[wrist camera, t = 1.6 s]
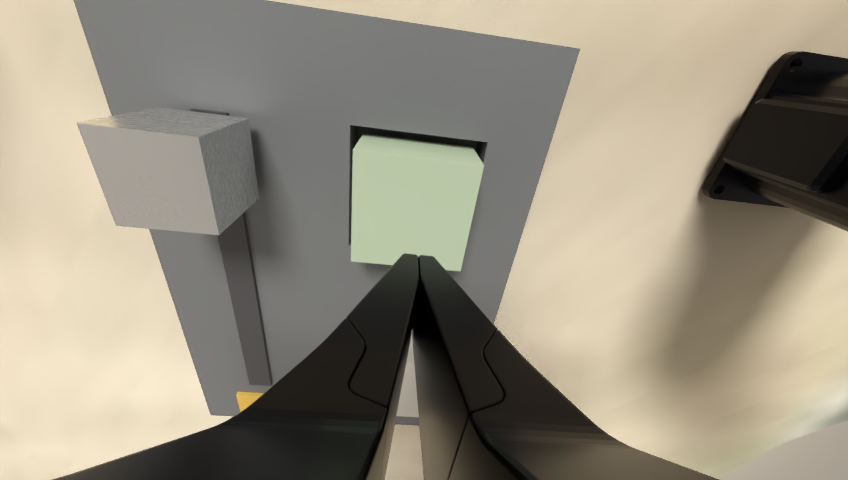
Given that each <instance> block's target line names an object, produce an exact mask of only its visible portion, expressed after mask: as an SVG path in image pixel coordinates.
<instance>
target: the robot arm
mask: <svg viewBox="0 0 848 480" xmlns="http://www.w3.org/2000/svg"><path fill="white" fill-rule="evenodd" d="M791 62H792V65H791V67H790V68H789V65H790V63H791ZM788 68H789V69H788ZM717 186H718V187H717ZM716 187H717V189H716V190H714V189H715V188H716ZM703 193H704V195H706V196H708V197H710V198H713V199H720V200H729V201H737V202H746V203H754V204H763V205H771V206H780V207H788V208H792V209H794V210H796V211H799V212H801V213H804V214H806V215H809V216H811V217H814V218H816V219H819V220H821V221H823V222H826V223H828V224H831V225H833V226H836V227H838V228H841V229H843V230H846V231H848V59H846V58H840V57H834V56H828V55H822V54H816V53H810V52H788V53H786V54H784V55H783V56H781V57H780V58H779V59H778V60H777V62H776V63H775V65H774V66H773V68H772V70H771V71H770V73H769V75H768V77H767V78H766V80H765V82H764V83H763V85H762V87H761V89H760V90H759V92H758V94H757V95H756V97H755V99H754V101H753V102H752V104H751V106H750V107H749V109H748V111H747V113H746V114H745V116H744V118H743V119H742V121H741V123H740V125H739V126H738V128H737V130H736V131H735V133H734V135H733V137H732V138H731V140H730V142H729V143H728V145H727V147H726V149H725V150H724V152H723V154H722V156H721V157H720V159H719V161H718V162H717V164H716V166H715V168H714V169H713V171H712V173H711V174H710V176H709V178H708V180H707V181H706V183H705V185H704V187H703ZM497 330H498V329H497V328H496V326H495V325H494V324H493V323H492V322H491V321H490V320H489V318H488V317H487V316H486V315H485V314H484V313H483V312H482V311H481V309H480V308H479V307H478V306H477V305H476V304H475V303H474V301H473V300H472V299H471V298H470V297H469V296H468V295H467V294H466V292H465V291H464V290H463V289H462V288H461V287H460V286H459V284H458V283H457V282H456V281H455V280H454V279H453V278H452V277H451V275H450V274H449V273H448V272H447V271H446V270H445V269H444V268H443V266H442V265H441V264H440V263H439V262H438V261H437V260H436V258H435V257H433V256H427V255H420V256H419V257H418V255H416V254H406V253H404V254H402V255H401V257H400V258H399V259H398V260H397V261H396V262H395V263H394V264H393V265H392V267H391V268H390V269H389V270H388V271H387V272H386V273H385V274H384V276H383V277H382V278H381V279H380V280H379V281H378V282H377V283H376V284H375V286H374V287H373V288H372V289H371V290H370V291H369V292H368V293H367V294H366V296H365V297H364V298H363V299H362V300H361V301H360V302H359V303H358V304H357V306H356V307H355V308H354V309H353V310H352V311H351V312H350V313H349V315H348V316H347V317H346V319H344V320H343V321H342V322H341V323H340V324H339V325H338V327H337V328H336V329H335V330H334V331H333V332H332V333H331V334H330V335H329V336H328V337H327V338H326V339H325V340H324V341H323V342H322V343H321V344H320V345H319V346H318V347H317V348H316V349H315V350H313V351H312V352H311V353H310V354H309V355H308V356H307V357H306V358H305V359H303V360H302V361H301V362H300V363H299V364H298V365H296V366H295V367H294V368H293V369H292V370H291V371H290V372H288V373H287V374H286V375H285V376H284V377H283V378H281V379H280V380H279V381H278V382H277V383H276V384H274V385H273V386H272V387H271V388H270V389H269V390H267V391H266V392H265V393H264V394H263V395H262V396H260V397H259V398H258V399H257V400H256V401H255V402H253V403H252V404H251V405H250V406H248V407H247V408H246V409H244V410H243V411H241V412H240V413H239V414H237V415H236V416H234V417H232V418H231V419H229V420H227V421H225V422H223V423H221V424H219V425H217V426H214V427H212V428H209V429H206V430H203V431H200V432H197V433H194V434H191V435H188V436H185V437H182V438H179V439H176V440H173V441H170V442H167V443H164V444H161V445H158V446H155V447H152V448H149V449H146V450H142V451H139V452H136V453H133V454H130V455H127V456H124V457H121V458H118V459H115V460H112V461H109V462H106V463H103V464H100V465H97V466H94V467H91V468H88V469H85V470H82V471H79V472H76V473H73V474H70V475H66V476H63V477H60V478H56V479H53V480H384V479H385V474H386V469H387V463H388V458H389V453H390V447H391V442H392V437H393V431H394V426H395V421H396V415H397V410H398V405H399V399H400V394H401V389H402V383H403V378H404V373H405V367H406V362H407V357H408V351H409V346H410V340H411V334H412V341H413V353H414V365H415V377H416V389H417V401H418V413H419V425H420V437H421V449H422V461H423V473H424V480H719V479H716V478H713V477H710V476H708V475H705V474H702V473H700V472H697V471H694V470H691V469H689V468H686V467H683V466H681V465H678V464H675V463H672V462H670V461H667V460H664V459H662V458H659V457H656V456H653V455H651V454H648V453H645V452H643V451H640V450H637V449H635V448H632V447H630V446H628V445H626V444H624V443H622V442H620V441H618V440H616V439H615V438H613V437H612V436H610V435H608V434H607V433H606V432H604V431H603V430H602V429H600V428H599V427H598V426H597V425H596V424H594V423H593V422H592V421H591V420H590V419H589V418H588V417H587V416H585V415H584V414H583V413H582V412H581V411H580V410H579V409H578V408H577V407H576V406H575V405H574V404H573V403H572V402H570V401H569V400H568V399H567V398H566V397H565V396H564V395H563V394H562V393H561V392H560V391H559V390H558V389H557V388H555V387H554V386H553V385H552V384H551V383H550V382H549V381H548V380H547V379H546V378H545V377H544V376H543V375H542V374H540V373H539V372H538V371H537V370H536V369H535V368H534V367H533V366H532V365H531V364H530V363H529V362H528V361H527V360H526V359H525V358H524V357H523V356H522V355H521V354H520V353H519V352H518V351H517V350H516V348H515V347H514V346H513V345H512V344H511V343H510V342H509V341H508V340H507V339H506V338H505V336H504V335H503V334H502V333H501V332H500V331H497Z"/></svg>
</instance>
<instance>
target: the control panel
mask: <svg viewBox="0 0 848 480" xmlns="http://www.w3.org/2000/svg"><path fill="white" fill-rule="evenodd" d="M74 3H75V6H76V9H77V12H78V15H79V18H80V21H81V24H82V27H83V30H84V33H85V36H86V39H87V42H88V45H89V48H90V51H91V54H92V57H93V60H94V63H95V66H96V69H97V72H98V75H99V78H100V81H101V84H102V87H103V91H104V94H105V97H106V100H107V103H108V106H109V109H110V112H111V115H112V116H114V115H119V114H124V113H129V112H134V111H139V110H144V109H149V108H154V107H162V108H170V109H178V110H186V111H194V112H202V113H210V114H218V115H226V116H234V117H242V118H249V125H250V133H251V140H252V148H253V155H254V163H255V170H256V178H257V185H258V193H259V199H258V200H257V201H256V202H255V203H254V204H253V205H251V206H250V207H249V208H248V209H247V210H246V211H245V212H244V213H243V214H242V215H241V216H240V217H238V218H237V219H236V220H235V221H234V222H233V223H232V224H231V225H230V226H229V227H228V228H226V229H225V230H224V231H223V232H222V233H221V234H220V235H211V234H200V233H190V232H179V231H169V230H158V229H149V230H150V233H151V236H152V239H153V242H154V245H155V248H156V251H157V254H158V257H159V260H160V263H161V266H162V269H163V272H164V275H165V278H166V281H167V284H168V287H169V290H170V293H171V296H172V299H173V302H174V305H175V308H176V311H177V314H178V317H179V320H180V323H181V326H182V330H183V333H184V336H185V339H186V342H187V345H188V348H189V351H190V354H191V357H192V360H193V363H194V366H195V369H196V372H197V375H198V378H199V381H200V384H201V387H202V390H203V393H204V396H205V399H206V402H207V405H208V408H209V411H210V414H211V415H219V416H236V415H237V414H239V413H240V412H241V411H243V410H244V409H246V408H247V407H248V406H250V405H251V404H252V403H253V402H255V401H256V400H257V399H258V398H259V397H260V396H262V395H263V394H264V393H265V392H266V391H267V390H269V389H270V388H271V387H272V386H273V385H274V384H276V383H277V382H278V381H279V380H280V379H281V378H283V377H284V376H285V375H286V374H287V373H288V372H290V371H291V370H292V369H293V368H294V367H295V366H296V365H298V364H299V363H300V362H301V361H302V360H303V359H305V358H306V357H307V356H308V355H309V354H310V353H311V352H312V351H313V350H315V349H316V348H317V347H318V346H319V345H320V344H321V343H322V342H323V341H324V340H325V339H326V338H327V337H328V336H329V335H330V334H331V333H332V332H333V331H334V330H335V329H336V328H337V327H338V325H339V324H340V323H341V322H342V321H343V320H344V319H346V317H347V316H348V315H349V313H350V312H351V311H352V310H353V309H354V308H355V307H356V306H357V304H358V303H359V302H360V301H361V300H362V299H363V298H364V297H365V296H366V294H367V293H368V292H369V291H370V290H371V289H372V288H373V287H374V286H375V284H376V283H377V282H378V281H379V280H380V279H381V278H382V277H383V276H384V274H385V273H386V272H387V271H388V270H389V269H390V268H391V267H392V265H385V264H373V263H362V262H351V220H352V165H353V149H354V147H355V145H356V144H357V142H358V141H359V139H360V138H361V136H362V135H363V134H371V135H379V136H387V137H395V138H403V139H411V140H419V141H428V142H436V143H444V144H452V145H460V146H468V147H473V148H474V150H475V152H476V153H477V155H478V156H479V158H480V159H481V161H482V163H483V164H484V169H483V173H482V178H481V182H480V187H479V191H478V196H477V200H476V205H475V209H474V213H473V218H472V222H471V227H470V231H469V236H468V240H467V245H466V249H465V254H464V258H463V263H462V267H461V271H451V270H446V271H447V272H448V273H449V274H450V275H451V277H452V278H453V279H454V280H455V281H456V282H457V283H458V284H459V286H460V287H461V288H462V289H463V290H464V291H465V292H466V294H467V295H468V296H469V297H470V298H471V299H472V300H473V301H474V303H475V304H476V305H477V306H478V307H479V308H480V309H481V311H482V312H483V313H484V314H485V315H486V316H487V317H488V318H489V320H490V321H491V322H492V323H493V324H494V321H495V318H496V314H497V311H498V308H499V305H500V302H501V299H502V295H503V292H504V289H505V286H506V283H507V279H508V276H509V273H510V270H511V267H512V264H513V260H514V257H515V254H516V251H517V248H518V245H519V241H520V238H521V235H522V232H523V229H524V225H525V222H526V219H527V216H528V213H529V210H530V206H531V203H532V200H533V197H534V194H535V191H536V187H537V184H538V181H539V178H540V175H541V171H542V168H543V165H544V162H545V159H546V156H547V152H548V149H549V146H550V143H551V140H552V137H553V133H554V130H555V127H556V124H557V121H558V117H559V114H560V111H561V108H562V105H563V102H564V98H565V95H566V92H567V89H568V86H569V83H570V79H571V76H572V73H573V70H574V67H575V64H576V60H577V57H578V54H579V51H580V49H577V48H571V47H564V46H558V45H552V44H545V43H539V42H532V41H526V40H519V39H513V38H506V37H500V36H493V35H487V34H480V33H474V32H467V31H461V30H454V29H448V28H442V27H435V26H429V25H422V24H416V23H409V22H403V21H396V20H390V19H383V18H377V17H370V16H364V15H357V14H351V13H344V12H338V11H332V10H325V9H319V8H312V7H306V6H299V5H293V4H286V3H280V2H273V1H267V0H74ZM395 424H402V425H419V417H403V416H396V421H395Z"/></svg>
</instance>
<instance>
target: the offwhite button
mask: <svg viewBox="0 0 848 480" xmlns="http://www.w3.org/2000/svg"><path fill="white" fill-rule="evenodd" d="M396 416H403V417H419V413H418V401H417V389H416V377H415V365H414V353H413V341H412V334H411V340H410V346H409V351H408V357H407V362H406V367H405V373H404V378H403V383H402V389H401V394H400V399H399V405H398V410H397V415H396Z"/></svg>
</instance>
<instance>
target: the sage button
mask: <svg viewBox="0 0 848 480" xmlns="http://www.w3.org/2000/svg"><path fill="white" fill-rule="evenodd" d="M483 169H484V164H483V163H482V161H481V159H480V158H479V156H478V155H477V153H476V152H475V150H474V148H473V147H468V146H460V145H452V144H444V143H436V142H428V141H419V140H411V139H403V138H395V137H387V136H379V135H371V134H363V135H362V136H361V138H360V139H359V141H358V142H357V144H356V145H355V147H354V149H353V165H352V220H351V262H362V263H373V264H385V265H393V264H394V263H395V262H396V261H397V260H398V259H399V258H400V257H401V255H402V254H404V253H406V254H416V255H418V257H419V256H420V255H427V256H433V257H435V258H436V260H437V261H438V262H439V263H440V264H441V265H442V266H443V268H444V269H445V270H451V271H461V267H462V263H463V258H464V254H465V249H466V245H467V240H468V236H469V231H470V227H471V222H472V218H473V213H474V209H475V205H476V200H477V196H478V191H479V187H480V182H481V178H482V173H483Z"/></svg>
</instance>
